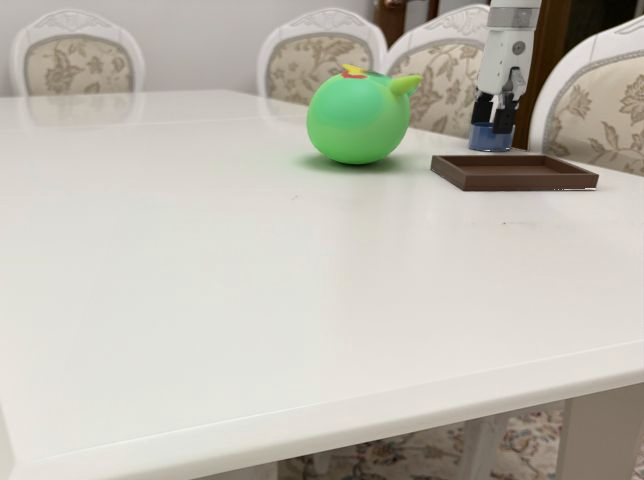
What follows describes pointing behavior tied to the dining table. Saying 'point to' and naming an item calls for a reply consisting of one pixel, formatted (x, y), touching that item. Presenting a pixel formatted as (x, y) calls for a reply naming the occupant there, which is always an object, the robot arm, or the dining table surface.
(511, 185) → the serving tray
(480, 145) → the blue bowl
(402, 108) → the toy bird
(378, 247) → the dining table surface
